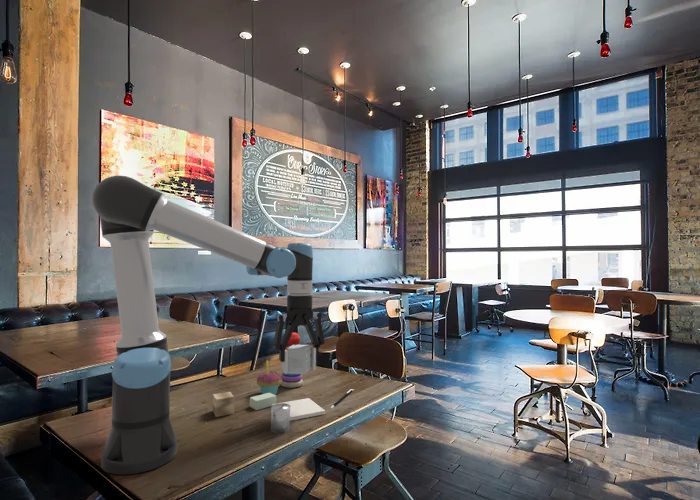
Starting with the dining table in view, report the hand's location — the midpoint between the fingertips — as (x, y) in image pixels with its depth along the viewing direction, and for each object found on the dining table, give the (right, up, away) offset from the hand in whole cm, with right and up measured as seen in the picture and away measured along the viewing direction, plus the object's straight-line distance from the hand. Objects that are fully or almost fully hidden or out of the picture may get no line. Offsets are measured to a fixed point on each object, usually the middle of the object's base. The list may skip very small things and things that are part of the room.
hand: (299, 370), depth 120 cm
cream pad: (0, -12, 0) cm, 12 cm away
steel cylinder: (-3, -12, -13) cm, 18 cm away
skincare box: (0, 0, 0) cm, 0 cm away
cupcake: (-12, -12, +15) cm, 23 cm away
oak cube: (-22, -12, -2) cm, 25 cm away
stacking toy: (-6, -13, +24) cm, 28 cm away
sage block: (-12, -12, +4) cm, 17 cm away
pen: (+13, -13, +10) cm, 21 cm away
